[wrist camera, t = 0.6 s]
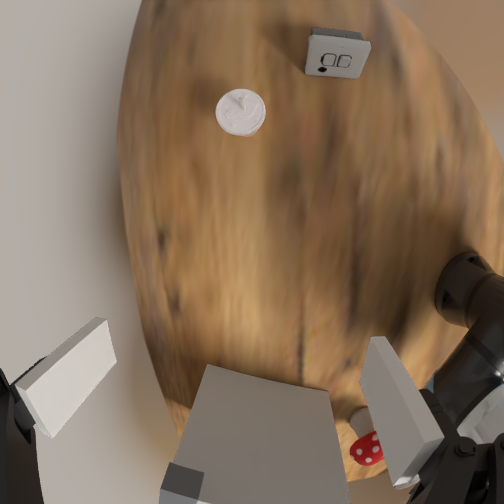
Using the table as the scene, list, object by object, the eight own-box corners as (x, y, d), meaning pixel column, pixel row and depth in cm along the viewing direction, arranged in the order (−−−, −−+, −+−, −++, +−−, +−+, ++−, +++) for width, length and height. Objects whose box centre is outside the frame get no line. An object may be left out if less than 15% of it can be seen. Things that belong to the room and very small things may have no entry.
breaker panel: (207, 363, 51) (163, 492, 22) (327, 391, 51) (352, 514, 22) (194, 413, 56) (159, 519, 26) (298, 436, 56) (304, 540, 26)
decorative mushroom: (360, 398, 52) (376, 447, 37) (385, 405, 52) (404, 449, 38) (334, 424, 54) (344, 472, 40) (360, 430, 55) (373, 474, 40)
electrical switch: (304, 75, 38) (311, 47, 29) (301, 52, 37) (307, 21, 28) (358, 80, 37) (375, 54, 28) (353, 57, 36) (368, 29, 27)
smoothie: (273, 136, 41) (273, 115, 27) (235, 151, 42) (219, 136, 28) (258, 102, 39) (252, 68, 26) (220, 116, 40) (199, 89, 27)
